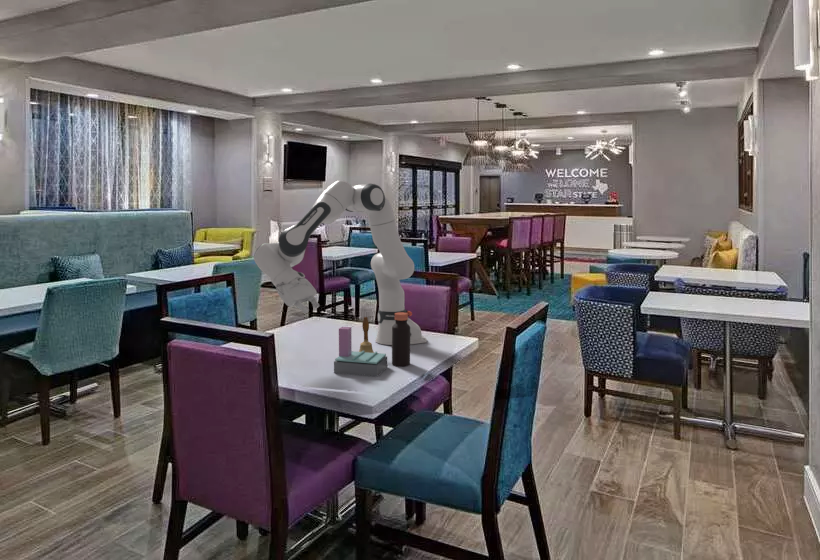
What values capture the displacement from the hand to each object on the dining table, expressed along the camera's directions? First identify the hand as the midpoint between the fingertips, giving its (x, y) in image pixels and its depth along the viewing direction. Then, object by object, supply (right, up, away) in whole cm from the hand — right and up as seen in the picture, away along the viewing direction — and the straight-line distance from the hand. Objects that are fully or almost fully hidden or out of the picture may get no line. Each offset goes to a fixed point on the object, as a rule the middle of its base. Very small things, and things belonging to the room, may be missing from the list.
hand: (312, 309), depth 209 cm
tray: (+18, -22, -2) cm, 29 cm away
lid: (+18, -17, -2) cm, 25 cm away
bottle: (+32, -22, +6) cm, 39 cm away
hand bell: (+18, -20, +19) cm, 33 cm away
